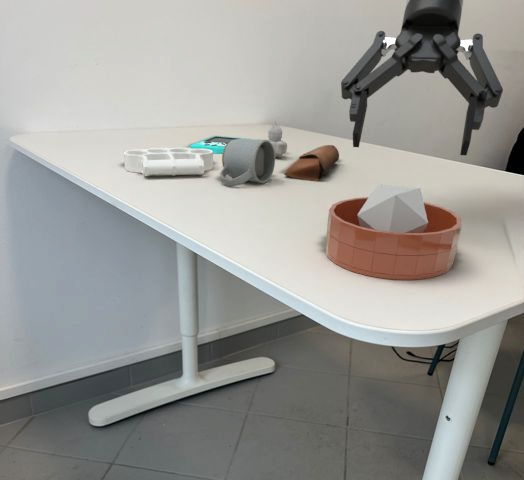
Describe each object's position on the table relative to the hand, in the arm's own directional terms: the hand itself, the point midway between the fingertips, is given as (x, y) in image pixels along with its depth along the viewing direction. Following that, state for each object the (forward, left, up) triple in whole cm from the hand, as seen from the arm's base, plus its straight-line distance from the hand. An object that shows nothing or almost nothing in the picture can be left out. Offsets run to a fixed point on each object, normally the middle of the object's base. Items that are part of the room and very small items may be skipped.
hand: (409, 144), depth 68 cm
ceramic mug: (+30, -25, -13) cm, 42 cm away
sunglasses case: (+20, -40, -13) cm, 47 cm away
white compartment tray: (+47, -28, -13) cm, 57 cm away
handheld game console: (+47, -57, -13) cm, 75 cm away
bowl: (0, +6, -13) cm, 14 cm away
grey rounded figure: (+31, -50, -13) cm, 61 cm away
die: (0, +6, -12) cm, 14 cm away
